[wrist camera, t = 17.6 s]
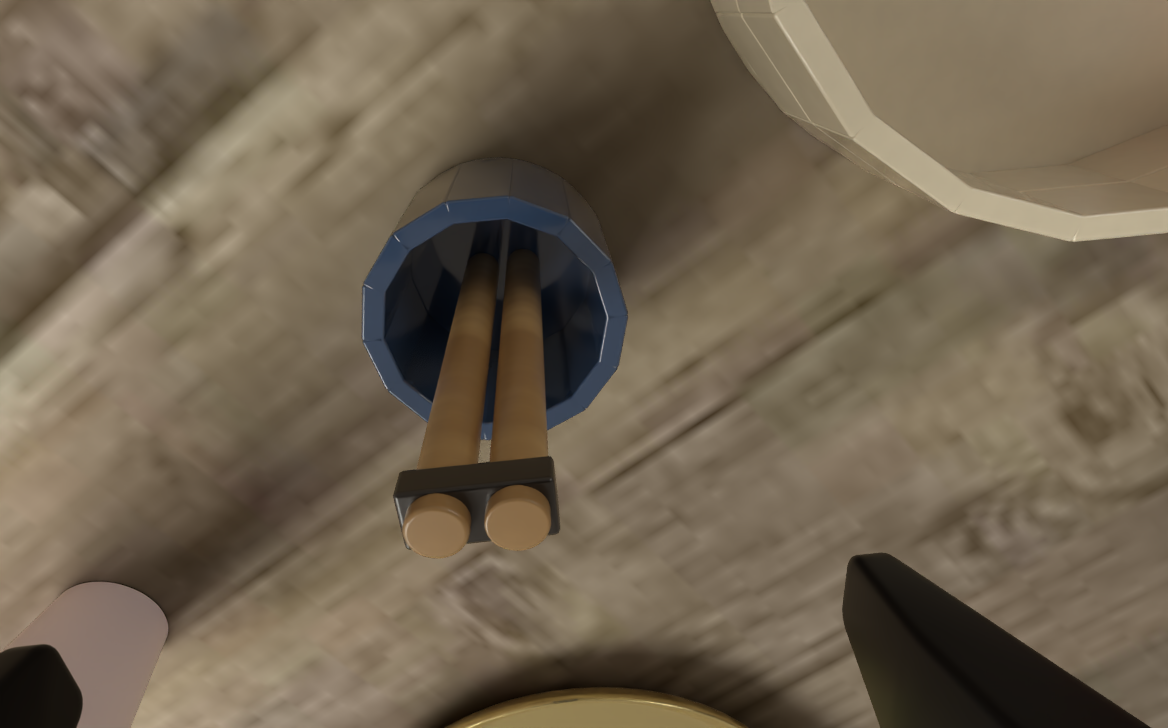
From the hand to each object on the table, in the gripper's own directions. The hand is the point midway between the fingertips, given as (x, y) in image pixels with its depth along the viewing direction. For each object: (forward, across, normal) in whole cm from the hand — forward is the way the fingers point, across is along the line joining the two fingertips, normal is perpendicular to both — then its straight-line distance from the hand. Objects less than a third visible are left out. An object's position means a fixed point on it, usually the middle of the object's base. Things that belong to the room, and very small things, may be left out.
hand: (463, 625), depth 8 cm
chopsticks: (+13, 0, 0) cm, 13 cm away
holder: (+13, 0, 0) cm, 13 cm away
